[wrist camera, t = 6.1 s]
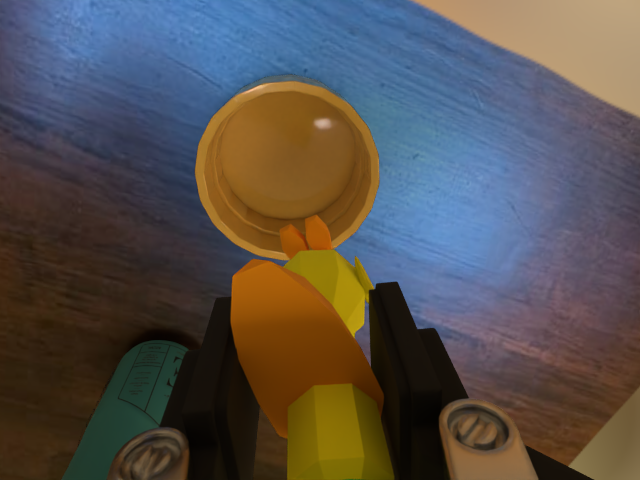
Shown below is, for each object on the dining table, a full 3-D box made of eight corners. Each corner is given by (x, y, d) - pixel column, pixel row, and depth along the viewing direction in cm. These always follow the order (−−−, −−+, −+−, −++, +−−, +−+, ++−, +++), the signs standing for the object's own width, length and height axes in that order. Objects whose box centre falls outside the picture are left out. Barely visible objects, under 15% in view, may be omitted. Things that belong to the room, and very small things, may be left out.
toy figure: (226, 180, 17) (105, 450, 6) (315, 141, 16) (366, 351, 5) (300, 318, 19) (314, 682, 8) (377, 287, 19) (498, 627, 8)
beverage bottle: (107, 364, 35) (-91, 723, 16) (157, 308, 33) (-3, 639, 15) (178, 404, 37) (71, 762, 19) (228, 353, 35) (165, 692, 17)
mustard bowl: (362, 67, 27) (377, 73, 23) (367, 220, 31) (381, 251, 27) (196, 81, 27) (178, 90, 22) (224, 234, 31) (213, 267, 26)
